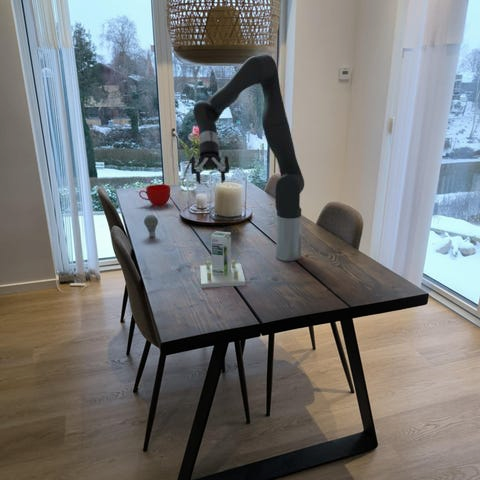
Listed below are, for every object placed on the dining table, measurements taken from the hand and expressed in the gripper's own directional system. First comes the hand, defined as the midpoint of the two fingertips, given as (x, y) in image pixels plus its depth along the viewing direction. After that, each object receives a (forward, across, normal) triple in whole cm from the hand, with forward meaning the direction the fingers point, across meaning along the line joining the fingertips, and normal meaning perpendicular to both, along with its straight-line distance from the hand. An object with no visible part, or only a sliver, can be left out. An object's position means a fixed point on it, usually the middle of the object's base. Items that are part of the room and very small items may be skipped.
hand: (211, 182), depth 162 cm
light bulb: (+3, -26, +40) cm, 48 cm away
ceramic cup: (-32, -27, +76) cm, 87 cm away
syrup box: (+33, +2, +8) cm, 34 cm away
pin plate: (+34, +2, +8) cm, 35 cm away
